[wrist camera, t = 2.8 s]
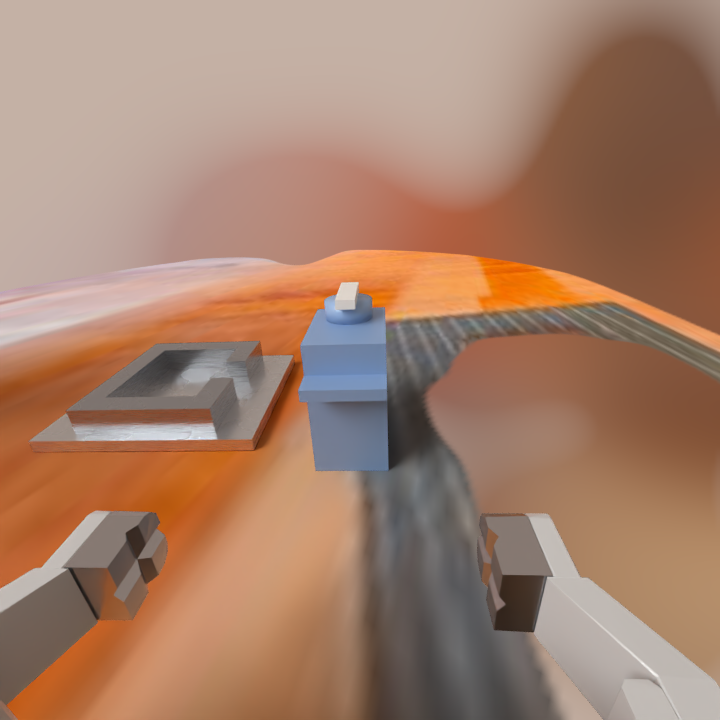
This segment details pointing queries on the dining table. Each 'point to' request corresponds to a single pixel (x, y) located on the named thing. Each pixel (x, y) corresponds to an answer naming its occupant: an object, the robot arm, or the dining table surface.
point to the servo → (347, 383)
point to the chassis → (176, 402)
